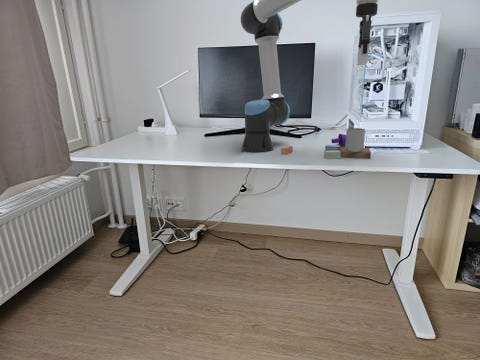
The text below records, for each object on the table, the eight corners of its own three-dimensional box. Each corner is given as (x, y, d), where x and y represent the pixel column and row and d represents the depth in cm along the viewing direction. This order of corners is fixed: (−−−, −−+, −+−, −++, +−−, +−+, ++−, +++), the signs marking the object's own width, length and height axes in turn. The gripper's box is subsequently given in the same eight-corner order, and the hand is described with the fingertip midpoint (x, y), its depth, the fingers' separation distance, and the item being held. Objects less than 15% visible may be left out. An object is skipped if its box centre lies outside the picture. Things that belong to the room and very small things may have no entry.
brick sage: (326, 159, 130) (326, 152, 129) (324, 157, 133) (324, 150, 132) (340, 158, 130) (341, 151, 129) (338, 157, 133) (338, 150, 132)
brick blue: (324, 152, 143) (325, 145, 142) (327, 151, 145) (327, 144, 144) (338, 153, 140) (338, 146, 139) (340, 152, 142) (340, 145, 141)
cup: (344, 151, 131) (345, 130, 128) (346, 147, 139) (348, 127, 137) (362, 152, 128) (364, 130, 125) (363, 148, 137) (365, 127, 134)
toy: (333, 153, 150) (366, 148, 148) (332, 137, 148) (365, 132, 145) (330, 147, 161) (360, 142, 158) (328, 132, 158) (359, 127, 155)
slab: (339, 157, 131) (340, 151, 131) (339, 152, 141) (339, 147, 140) (370, 158, 128) (371, 152, 127) (368, 153, 137) (368, 147, 137)
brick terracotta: (286, 155, 139) (287, 148, 138) (280, 154, 141) (280, 147, 140) (292, 152, 144) (292, 146, 143) (286, 151, 145) (286, 145, 145)
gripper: (382, -6, 105) (376, 62, 111) (374, 10, 128) (368, 65, 134) (358, -3, 107) (353, 63, 113) (354, 11, 130) (350, 66, 136)
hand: (361, 64), depth 124 cm, fingers open, 13 cm apart
